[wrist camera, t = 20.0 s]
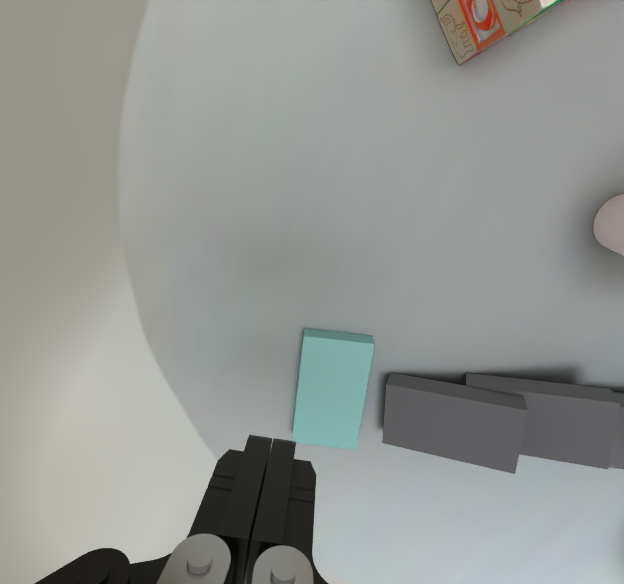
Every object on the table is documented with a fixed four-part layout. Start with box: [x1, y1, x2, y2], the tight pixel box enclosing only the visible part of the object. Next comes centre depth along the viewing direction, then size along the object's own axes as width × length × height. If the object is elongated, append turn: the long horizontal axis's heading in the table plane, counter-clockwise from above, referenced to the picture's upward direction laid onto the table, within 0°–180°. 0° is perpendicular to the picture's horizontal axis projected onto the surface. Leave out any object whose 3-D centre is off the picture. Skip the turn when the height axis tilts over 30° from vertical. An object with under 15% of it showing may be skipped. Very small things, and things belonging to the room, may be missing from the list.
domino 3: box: [465, 373, 620, 469], centre depth 28 cm, size 2×5×9 cm
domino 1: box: [292, 328, 374, 449], centre depth 29 cm, size 2×5×9 cm
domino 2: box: [382, 373, 528, 474], centre depth 28 cm, size 2×5×9 cm
